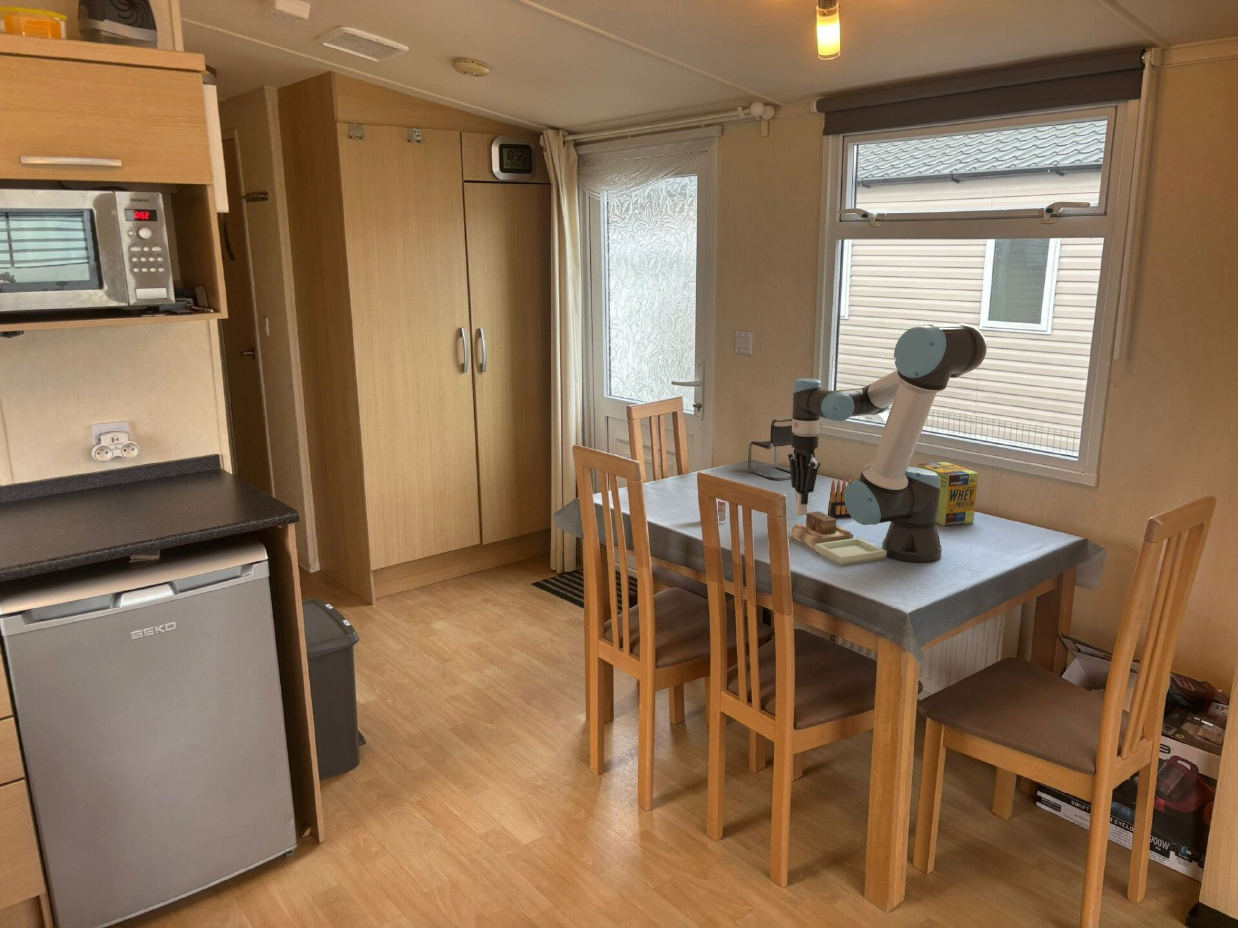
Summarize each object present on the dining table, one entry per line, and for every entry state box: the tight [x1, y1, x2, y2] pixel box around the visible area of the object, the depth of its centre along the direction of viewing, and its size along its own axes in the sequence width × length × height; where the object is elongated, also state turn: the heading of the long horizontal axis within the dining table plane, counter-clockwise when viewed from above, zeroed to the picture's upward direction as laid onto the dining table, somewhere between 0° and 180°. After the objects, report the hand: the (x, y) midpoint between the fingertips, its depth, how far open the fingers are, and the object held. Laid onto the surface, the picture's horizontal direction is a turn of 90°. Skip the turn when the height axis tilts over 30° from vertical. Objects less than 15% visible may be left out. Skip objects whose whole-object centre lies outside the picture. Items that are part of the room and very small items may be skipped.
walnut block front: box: [815, 516, 837, 535], centre depth 250 cm, size 4×4×4 cm
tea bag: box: [718, 501, 726, 522], centre depth 269 cm, size 4×7×10 cm, turn 104°
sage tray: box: [814, 537, 887, 566], centre depth 241 cm, size 12×14×2 cm
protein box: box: [916, 461, 979, 527], centre depth 273 cm, size 10×15×16 cm
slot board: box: [790, 523, 854, 550], centre depth 252 cm, size 12×12×4 cm
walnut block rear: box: [805, 510, 828, 530], centre depth 254 cm, size 4×4×4 cm
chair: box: [747, 417, 793, 481], centre depth 325 cm, size 13×17×22 cm
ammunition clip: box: [826, 478, 857, 520], centre depth 274 cm, size 11×2×12 cm, turn 103°
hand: (801, 514), depth 261 cm, fingers closed
